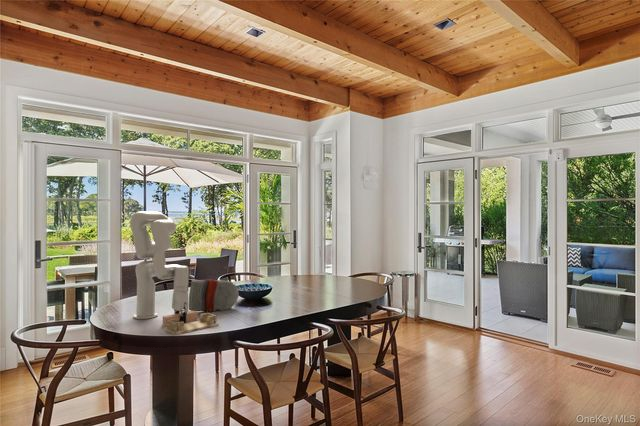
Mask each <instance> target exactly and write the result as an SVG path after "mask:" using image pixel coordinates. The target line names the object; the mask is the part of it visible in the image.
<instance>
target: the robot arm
mask: <svg viewBox="0 0 640 426" xmlns="http://www.w3.org/2000/svg"><path fill="white" fill-rule="evenodd" d="M129 224H130V225H129V226H130V230H131V233H132V235H133V243H134V247H135V248H134V251H135V254H136V257H137V258H138V259H141V260H144V261H141V262H139V263H138V264H136V266H135V269H134V270H135V276H136V311H135V312H136V313H134V314H133V319H135V320H148V319H153V318H156V317H157V316H158V313H157V312H155V310H156V308H155V307H156V306H155V305H156V283H155V281H154V279H153V278H154V277H156V278H157V279H159V280H161V281H163V280H169V279H173V293H172V299H171V308H172V309H173V311H174V312H173V313H174V314H178V313H181V316H180V322H182V321H183V322H184V324H185V323H186V316H187V312H189V280H190V279H189V274H190V273H189V272H190V270H189V269H190V268H189V266H187V265H180V264H176V263H174V264H173V263H172V264H167V261H166V255H165V254H166V253H165V252H166V251H167V250H170V248H172V246H173V243H172V240H171V236H170V235H173V234H174V233H175V232H176V231H177V226H176V223H175V222H174V221H173V219H171V218H169V217H168V216H167V215H166V214H163V212H159V211H145V210H144V211H143V210H142V211H137V212H134V214H132V215H131V218H130V220H129ZM146 227H150V231H151V234H152V235H151V236H152V238H153V241H151V236H150V232H149V230H148V229H147V228H146ZM145 259H146V260H145ZM147 259H151V260H147Z"/></svg>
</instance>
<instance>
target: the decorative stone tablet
mask: <svg viewBox="0 0 640 426" xmlns="http://www.w3.org/2000/svg"><path fill="white" fill-rule="evenodd" d="M239 296H240V295H239V288H238V287H237V285H236V284H234V282H233V281H229V280H224V279H223V280H222V279H221V280H220V279H219V280H215V279H212V278H211V279H192V280H191V282H190V290H189V292H188V311H196V312H204V313H212V312H215V311H225V310H229V309H231V308H233V307H234V306H235V304H237V302H238V299H239Z"/></svg>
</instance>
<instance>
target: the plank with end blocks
mask: <svg viewBox="0 0 640 426" xmlns="http://www.w3.org/2000/svg"><path fill="white" fill-rule="evenodd" d="M219 325H220V323H217V315H216V314H213V313H211V312H208V313H205V312H204V313H200V314H199V320H197V321H192V322H187V323H184V322H183V321H182V322H177V319H172V320H167V327H165V326H164V331H166V332H169V333H171V334H173V335H175V336H177V335H181V334H186V333H190V332H191V333H192V332H196V331H199V330H204V329H208V328H213V327H218V326H219Z"/></svg>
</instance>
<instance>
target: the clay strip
mask: <svg viewBox="0 0 640 426" xmlns="http://www.w3.org/2000/svg"><path fill="white" fill-rule="evenodd" d="M180 316H181V312H180V313H178V314H173V313H172V314H169V315H162V321H161V322H162V326H163V327H164V328H165V327H167V320H172V319H177V322H180ZM195 321H198V311H190V310H188V312H187V316H186V323H190V322H195Z"/></svg>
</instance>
